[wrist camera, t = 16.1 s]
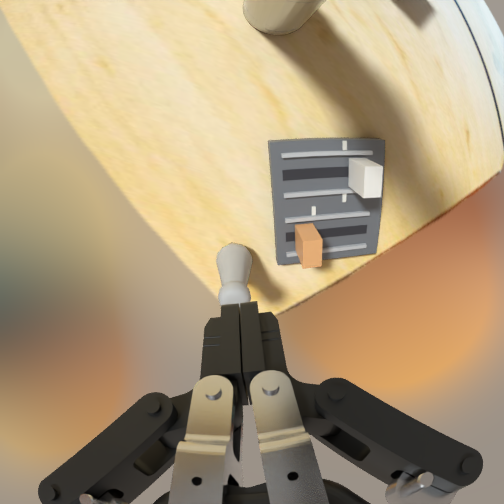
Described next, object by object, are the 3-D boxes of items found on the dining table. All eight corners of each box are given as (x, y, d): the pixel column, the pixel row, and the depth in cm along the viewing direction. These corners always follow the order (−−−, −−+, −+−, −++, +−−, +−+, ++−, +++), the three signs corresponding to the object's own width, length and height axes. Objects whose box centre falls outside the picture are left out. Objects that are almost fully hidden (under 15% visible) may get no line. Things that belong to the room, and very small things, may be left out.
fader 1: (294, 224, 42) (302, 241, 37) (312, 222, 42) (322, 239, 37) (295, 249, 44) (302, 268, 40) (312, 247, 44) (321, 266, 40)
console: (267, 140, 38) (270, 142, 36) (378, 138, 38) (386, 140, 36) (276, 258, 48) (278, 267, 46) (371, 247, 48) (377, 254, 46)
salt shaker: (257, 246, 46) (265, 295, 35) (242, 272, 49) (245, 324, 38) (225, 232, 45) (223, 279, 34) (211, 260, 47) (205, 311, 36)
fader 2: (348, 158, 37) (364, 166, 32) (365, 157, 37) (382, 166, 33) (348, 186, 40) (363, 198, 35) (364, 185, 40) (381, 197, 35)
